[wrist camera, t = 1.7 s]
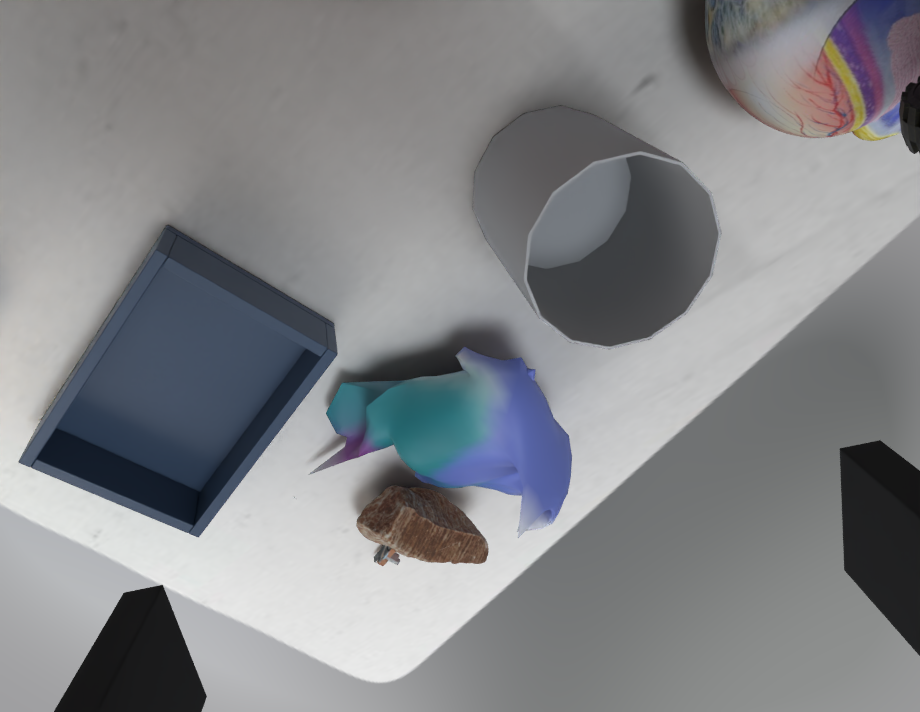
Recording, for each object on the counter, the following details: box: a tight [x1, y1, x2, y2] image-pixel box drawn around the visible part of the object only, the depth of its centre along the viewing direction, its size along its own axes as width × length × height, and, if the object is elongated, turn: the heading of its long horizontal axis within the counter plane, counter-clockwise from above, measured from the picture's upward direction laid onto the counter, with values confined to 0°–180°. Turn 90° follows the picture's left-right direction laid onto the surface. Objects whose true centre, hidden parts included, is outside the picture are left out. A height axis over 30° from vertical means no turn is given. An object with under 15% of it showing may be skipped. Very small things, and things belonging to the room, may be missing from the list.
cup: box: [473, 105, 721, 349], centre depth 35 cm, size 8×8×10 cm
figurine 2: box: [310, 346, 572, 538], centre depth 42 cm, size 13×12×9 cm
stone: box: [356, 485, 488, 564], centre depth 45 cm, size 7×6×5 cm
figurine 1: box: [293, 497, 400, 566], centre depth 47 cm, size 8×2×1 cm, turn 51°
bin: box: [19, 225, 338, 537], centre depth 39 cm, size 10×13×4 cm
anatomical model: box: [705, 0, 920, 141], centre depth 33 cm, size 10×12×10 cm
